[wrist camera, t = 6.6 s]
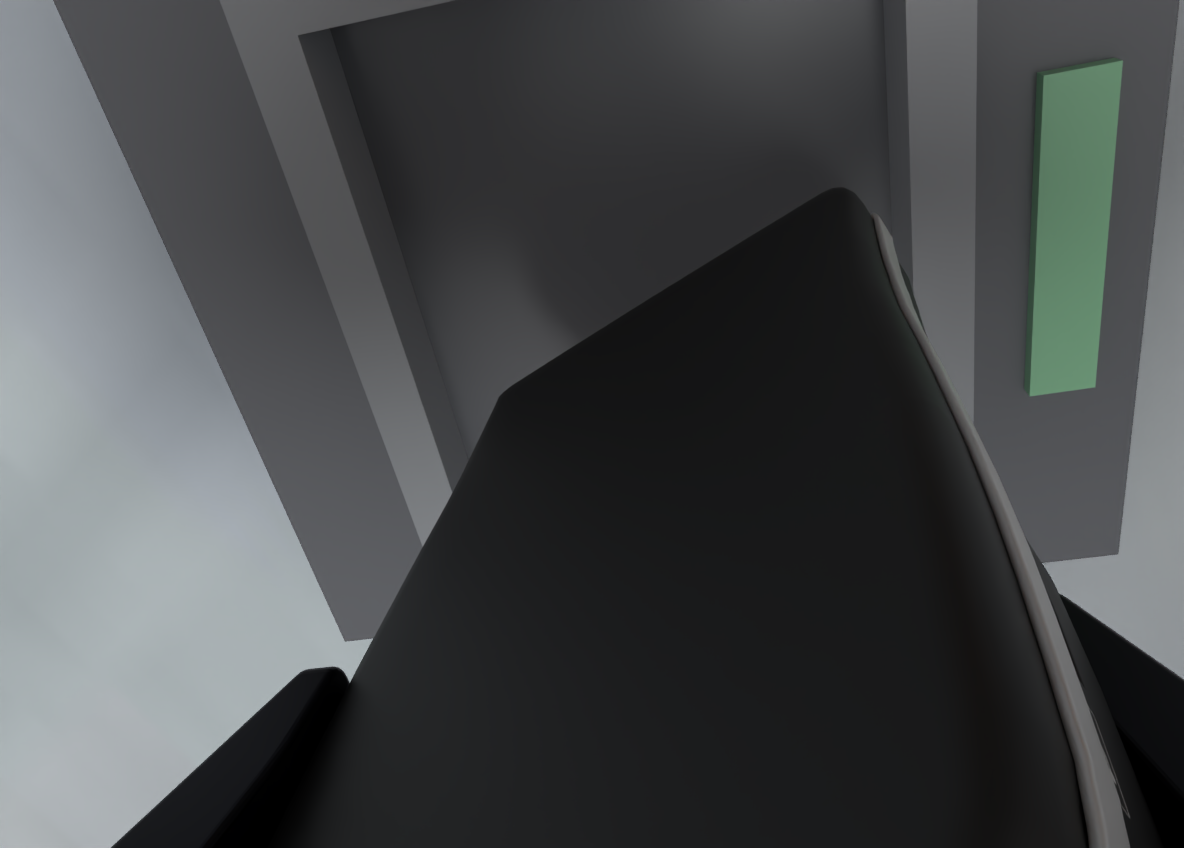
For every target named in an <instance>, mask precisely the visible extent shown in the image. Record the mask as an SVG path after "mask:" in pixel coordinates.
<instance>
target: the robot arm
mask: <svg viewBox="0 0 1184 848" xmlns="http://www.w3.org/2000/svg"><path fill="white" fill-rule="evenodd" d="M1059 595H1060V598H1061V600H1062V602H1063V604H1064V606H1065V609H1066V611H1067V613H1068V615H1069V618H1070V620H1071V622H1072V624H1073V627H1074V629H1075V631H1076V633H1077V636H1078V638H1079V640H1080V642H1081V645H1082V647H1083V649H1084V651H1085V654H1086V656H1087V658H1088V660H1089V663H1090V665H1091V667H1092V669H1093V672H1094V674H1095V676H1096V678H1097V681H1098V683H1099V685H1100V687H1101V690H1102V692H1103V695H1104V698H1105V700H1106V703H1107V705H1108V708H1109V710H1110V713H1111V715H1112V718H1113V720H1114V723H1115V725H1116V728H1117V730H1118V733H1119V735H1120V738H1121V740H1122V742H1123V745H1124V747H1125V750H1126V752H1127V755H1128V757H1129V759H1130V762H1131V764H1132V767H1133V769H1134V772H1135V774H1136V777H1137V779H1138V782H1139V784H1140V787H1141V789H1142V792H1143V794H1144V797H1145V799H1146V802H1147V804H1148V806H1149V809H1150V811H1151V814H1152V816H1153V819H1154V821H1155V824H1156V826H1157V829H1158V831H1159V834H1160V836H1161V839H1162V842H1163V844H1164V847H1165V848H1184V679H1182V678H1181V677H1179V676H1178V675H1177V674H1175V673H1174V672H1172V671H1171V670H1169V669H1168V668H1167V667H1165V666H1164V665H1162V664H1161V663H1159V662H1158V661H1156V660H1155V659H1154V658H1152V657H1151V656H1149V655H1148V654H1146V653H1145V652H1144V651H1142V650H1141V649H1139V648H1138V647H1136V646H1135V645H1134V644H1132V643H1131V642H1129V641H1128V640H1126V639H1125V638H1124V637H1122V636H1121V635H1119V634H1118V633H1116V632H1115V631H1113V630H1112V629H1111V628H1109V627H1108V626H1106V625H1105V624H1103V623H1102V622H1101V621H1099V620H1098V619H1096V618H1095V617H1093V616H1092V615H1091V614H1089V613H1088V612H1086V611H1085V610H1083V609H1082V608H1081V607H1079V606H1078V605H1076V604H1075V603H1073V602H1072V601H1071V600H1069V599H1068V598H1066V597H1065V596H1063V595H1061V594H1059ZM349 684H350V683H349V681H348V678H347V676H346V675H345V673H344V672H343V671H342V670H341V669H340V668H338V667H325V668H315V669H308V670H304V671H302V672H300V673H299V674H298V675H297V676H296V677H295V678H293V679H292V680H291V681H290V682H289V683H288V684H287V685H286V686H285V687H284V688H283V689H282V690H280V691H279V692H278V693H277V694H276V695H275V696H274V697H273V698H272V699H271V700H270V701H269V702H268V703H266V704H265V705H264V706H263V707H262V708H261V709H260V710H259V711H258V712H257V713H256V714H255V715H254V716H252V717H251V718H250V719H249V720H248V721H247V722H246V723H245V724H244V725H243V726H242V727H241V728H239V729H238V730H237V731H236V732H235V733H234V734H233V735H232V736H231V737H230V738H229V739H228V740H227V741H225V742H224V743H223V744H222V745H221V746H220V747H219V748H218V749H217V750H216V751H215V752H214V753H213V754H211V755H210V756H209V757H208V758H207V759H206V760H205V761H204V762H203V763H202V764H201V765H200V766H199V767H197V768H196V769H195V770H194V771H193V772H192V773H191V774H190V775H189V776H188V777H187V778H186V779H184V780H183V781H182V782H181V783H180V784H179V785H178V786H177V787H176V788H175V789H174V790H173V791H172V792H170V793H169V794H168V795H167V796H166V797H165V798H164V799H163V800H162V801H161V802H160V803H159V804H158V805H156V806H155V807H154V808H153V809H152V810H151V811H150V812H149V813H148V814H147V815H146V816H145V817H144V818H142V819H141V820H140V821H139V822H138V823H137V824H136V825H135V826H134V827H133V828H132V829H131V830H129V831H128V832H127V833H126V834H125V835H124V836H123V837H122V838H121V839H120V840H119V841H118V842H117V843H115V844H114V845H113V846H112V847H111V848H267V847H268V845H269V843H270V841H271V839H272V837H273V835H274V833H275V831H276V829H277V827H278V825H279V823H280V821H281V819H282V817H283V815H284V813H285V810H286V808H287V806H288V804H289V802H290V800H291V798H292V797H293V795H294V793H295V791H296V789H297V787H298V785H299V783H300V780H301V778H302V776H303V774H304V772H305V770H306V768H307V766H308V764H309V762H310V760H311V758H312V756H313V754H314V752H315V750H316V748H317V746H318V744H319V742H320V740H321V738H322V736H323V734H324V732H325V730H326V729H327V727H328V725H329V723H330V721H331V719H332V717H333V715H334V713H335V711H336V709H337V707H338V705H339V703H340V701H341V699H342V698H343V696H344V694H345V692H346V690H347V688H348V686H349Z"/></svg>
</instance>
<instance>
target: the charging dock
mask: <svg viewBox="0 0 1184 848" xmlns="http://www.w3.org/2000/svg"><path fill="white" fill-rule="evenodd" d="M53 1H54V3H55V5H56V7H57V10H58V12H59V14H60V16H61V18H62V21H63V23H64V25H65V27H66V29H67V32H68V34H69V36H70V38H71V40H72V43H73V45H74V47H75V49H76V51H77V54H78V56H79V58H80V60H81V62H82V65H83V67H84V69H85V71H86V73H87V76H88V78H89V80H90V82H91V84H92V87H93V89H94V91H95V93H96V95H97V98H98V100H99V102H100V104H101V106H102V109H103V111H104V113H105V115H106V117H107V120H108V122H109V124H110V126H111V128H112V131H113V133H114V135H115V137H116V139H117V142H118V144H119V146H120V148H121V150H122V153H123V155H124V157H125V159H126V161H127V163H128V166H129V168H130V170H131V172H132V174H133V177H134V179H135V181H136V183H137V185H138V188H139V190H140V192H141V194H142V196H143V199H144V201H145V203H146V205H147V207H148V210H149V212H150V214H151V216H152V218H153V221H154V223H155V225H156V227H157V229H158V232H159V234H160V236H161V238H162V240H163V243H164V245H165V247H166V249H167V251H168V254H169V256H170V258H171V260H172V262H173V265H174V267H175V269H176V271H177V273H178V276H179V278H180V280H181V282H182V284H183V287H184V289H185V291H186V293H187V295H188V298H189V300H190V302H191V304H192V306H193V309H194V311H195V313H196V315H197V317H198V320H199V322H200V324H201V326H202V328H203V331H204V333H205V335H206V337H207V339H208V341H209V344H210V346H211V348H212V350H213V352H214V355H215V357H216V359H217V361H218V363H219V366H220V368H221V370H222V372H223V374H224V377H225V379H226V381H227V383H228V385H229V388H230V390H231V392H232V394H233V396H234V399H235V401H236V403H237V405H238V407H239V410H240V412H241V414H242V416H243V418H244V421H245V423H246V425H247V427H248V429H249V432H250V434H251V436H252V438H253V440H254V443H255V445H256V447H257V449H258V451H259V454H260V456H261V458H262V460H263V462H264V465H265V467H266V469H267V471H268V473H269V476H270V478H271V480H272V482H273V484H274V487H275V489H276V491H277V493H278V495H279V498H280V500H281V502H282V504H283V506H284V509H285V511H286V513H287V515H288V517H289V520H290V522H291V524H292V526H293V528H294V530H295V533H296V535H297V537H298V539H299V541H300V544H301V546H302V548H303V550H304V552H305V555H306V557H307V559H308V561H309V563H310V566H311V568H312V570H313V572H314V574H315V577H316V579H317V581H318V583H319V585H320V588H321V590H322V592H323V594H324V596H325V599H326V601H327V603H328V605H329V607H330V610H331V612H332V614H333V616H334V618H335V621H336V623H337V625H338V627H339V629H340V632H341V634H342V636H343V638H344V640H345V641H354V640H363V639H372V638H374V636H375V635H376V633H377V631H378V629H379V627H380V625H381V623H382V621H383V620H384V618H385V616H386V614H387V612H388V610H389V608H390V607H391V605H392V603H393V601H394V599H395V597H396V595H397V594H398V592H399V590H400V588H401V586H402V584H403V582H404V580H405V579H406V577H407V575H408V573H409V571H410V569H411V568H412V566H413V564H414V562H415V560H416V558H417V556H418V555H419V553H420V551H421V549H422V547H423V545H424V544H425V542H426V540H427V538H428V536H429V535H430V533H431V531H432V529H433V527H434V526H435V524H436V522H437V520H438V518H439V517H440V515H441V513H442V511H443V509H444V508H445V506H446V504H447V502H448V500H449V498H450V496H451V494H452V492H453V490H454V489H455V487H456V485H457V483H458V481H459V479H460V477H461V475H462V473H463V471H464V469H465V467H466V465H467V463H468V461H469V459H470V456H471V454H472V452H473V450H474V448H475V446H476V444H477V442H478V440H479V438H480V436H481V434H482V432H483V430H484V428H485V425H486V423H487V421H488V419H489V417H490V415H491V413H492V411H493V409H494V407H495V405H496V402H497V400H498V398H499V396H500V395H501V394H502V393H503V392H504V391H505V390H507V389H508V388H509V387H510V386H512V385H513V384H515V383H516V382H518V381H520V380H521V379H523V378H524V377H526V376H527V375H529V374H531V373H532V372H534V371H535V370H537V369H538V368H540V367H542V366H543V365H545V364H546V363H548V362H549V361H551V360H553V359H554V358H556V357H557V356H559V355H560V354H562V353H564V352H565V351H567V350H568V349H570V348H571V347H573V346H575V345H576V344H578V343H579V342H581V341H583V340H584V339H586V338H587V337H589V336H591V335H592V334H594V333H595V332H597V331H599V330H600V329H602V328H603V327H605V326H607V325H608V324H610V323H611V322H613V321H614V320H616V319H618V318H619V317H621V316H622V315H624V314H626V313H627V312H629V311H630V310H632V309H634V308H635V307H637V306H638V305H640V304H642V303H643V302H645V301H646V300H648V299H649V298H651V297H653V296H654V295H656V294H658V293H659V292H661V291H662V290H664V289H666V288H667V287H669V286H670V285H672V284H674V283H675V282H677V281H679V280H680V279H682V278H683V277H685V276H687V275H688V274H690V273H692V272H693V271H695V270H696V269H698V268H700V267H701V266H703V265H705V264H706V263H708V262H709V261H711V260H713V259H714V258H716V257H717V256H719V255H721V254H722V253H724V252H726V251H727V250H729V249H730V248H732V247H734V246H735V245H737V244H739V243H740V242H742V241H743V240H745V239H747V238H748V237H750V236H752V235H753V234H755V233H756V232H758V231H760V230H761V229H763V228H765V227H766V226H768V225H770V224H771V223H773V222H775V221H776V220H778V219H779V218H781V217H783V216H784V215H786V214H788V213H789V212H791V211H793V210H794V209H796V208H797V207H799V206H801V205H802V204H804V203H806V202H807V201H809V200H811V199H812V198H814V197H816V196H817V195H819V194H820V193H822V192H825V191H827V190H829V189H831V188H836V187H844V188H846V189H849V190H851V191H853V192H854V193H855V194H856V195H857V196H858V197H859V199H860V200H861V201H862V202H863V203H864V205H865V207H866V208H867V210H868V212H869V213H876V214H877V215H878V216H879V217H880V218H881V220H882V221H883V223H884V225H885V226H886V228H887V230H888V231H889V233H890V235H891V236H892V238H893V244H894V248H895V251H896V255H897V259H898V261H899V263H900V264H901V266H902V268H903V269H904V271H905V273H906V274H907V276H908V278H909V280H910V283H911V287H912V291H913V295H914V298H915V301H916V303H917V306H918V309H919V312H920V317H921V320H922V323H923V326H924V329H925V332H926V335H927V337H928V340H929V341H930V343H931V345H932V347H933V349H934V350H935V352H936V354H937V356H938V357H939V359H940V361H941V363H942V364H943V366H944V368H945V370H946V372H947V374H948V376H949V378H950V380H951V382H952V384H953V386H954V387H955V389H956V391H957V393H958V395H959V397H960V399H961V401H962V403H963V405H964V407H965V409H966V411H967V413H968V415H969V417H970V419H971V421H972V423H973V425H974V427H975V429H976V431H977V433H978V435H979V437H980V439H981V441H982V443H983V445H984V447H985V449H986V451H987V453H988V455H989V457H990V459H991V461H992V463H993V466H994V468H995V470H996V471H997V474H998V476H999V478H1000V480H1001V483H1002V485H1003V487H1004V490H1005V492H1006V494H1007V497H1008V499H1009V501H1010V503H1011V506H1012V508H1013V510H1014V513H1015V515H1016V517H1017V520H1018V522H1019V524H1020V527H1021V529H1022V531H1023V533H1024V535H1025V537H1026V539H1027V540H1028V542H1029V543H1030V545H1031V547H1032V548H1033V550H1034V551H1035V553H1036V555H1037V556H1038V558H1039V559H1040V561H1041V562H1042V563H1045V562H1054V561H1063V560H1072V559H1081V558H1089V557H1098V556H1107V555H1116V554H1118V552H1119V542H1120V533H1121V524H1122V515H1123V506H1124V497H1125V488H1126V479H1127V470H1128V461H1129V452H1130V443H1131V434H1132V425H1133V416H1134V407H1135V397H1136V388H1137V379H1138V370H1139V361H1140V352H1141V343H1142V334H1143V325H1144V316H1145V307H1146V298H1147V289H1148V280H1149V271H1150V262H1151V253H1152V243H1153V234H1154V225H1155V216H1156V207H1157V198H1158V189H1159V180H1160V171H1161V162H1162V153H1163V144H1164V135H1165V126H1166V117H1167V108H1168V98H1169V89H1170V80H1171V71H1172V62H1173V53H1174V44H1175V35H1176V26H1177V17H1178V8H1179V0H53Z"/></svg>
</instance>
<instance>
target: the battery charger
mask: <svg viewBox="0 0 1184 848" xmlns="http://www.w3.org/2000/svg"><path fill="white" fill-rule="evenodd" d="M267 848H1165V847H1164V844H1163V842H1162V839H1161V836H1160V834H1159V831H1158V829H1157V826H1156V824H1155V821H1154V819H1153V816H1152V814H1151V811H1150V809H1149V806H1148V804H1147V802H1146V799H1145V797H1144V794H1143V792H1142V789H1141V787H1140V784H1139V782H1138V779H1137V777H1136V774H1135V772H1134V769H1133V767H1132V764H1131V762H1130V759H1129V757H1128V755H1127V752H1126V750H1125V747H1124V745H1123V742H1122V740H1121V738H1120V735H1119V733H1118V730H1117V728H1116V725H1115V723H1114V720H1113V718H1112V715H1111V713H1110V710H1109V708H1108V705H1107V703H1106V700H1105V698H1104V695H1103V692H1102V690H1101V687H1100V685H1099V683H1098V681H1097V678H1096V676H1095V674H1094V672H1093V669H1092V667H1091V665H1090V663H1089V660H1088V658H1087V656H1086V654H1085V651H1084V649H1083V647H1082V645H1081V642H1080V640H1079V638H1078V636H1077V633H1076V631H1075V629H1074V627H1073V624H1072V622H1071V620H1070V618H1069V615H1068V613H1067V611H1066V609H1065V606H1064V604H1063V602H1062V600H1061V598H1060V595H1059V593H1058V591H1057V589H1056V587H1055V585H1054V583H1053V581H1052V579H1051V577H1050V575H1049V574H1048V572H1047V570H1046V569H1045V567H1044V566H1043V564H1042V562H1041V561H1040V559H1039V558H1038V556H1037V555H1036V553H1035V551H1034V550H1033V548H1032V547H1031V545H1030V543H1029V542H1028V540H1027V539H1026V537H1025V535H1024V533H1023V531H1022V529H1021V527H1020V524H1019V522H1018V520H1017V517H1016V515H1015V513H1014V510H1013V508H1012V506H1011V503H1010V501H1009V499H1008V497H1007V494H1006V492H1005V490H1004V487H1003V485H1002V483H1001V480H1000V478H999V476H998V474H997V471H996V470H995V468H994V466H993V463H992V461H991V459H990V457H989V455H988V453H987V451H986V449H985V447H984V445H983V443H982V441H981V439H980V437H979V435H978V433H977V431H976V429H975V427H974V425H973V423H972V421H971V419H970V417H969V415H968V413H967V411H966V409H965V407H964V405H963V403H962V401H961V399H960V397H959V395H958V393H957V391H956V389H955V387H954V386H953V384H952V382H951V380H950V378H949V376H948V374H947V372H946V370H945V368H944V366H943V364H942V363H941V361H940V359H939V357H938V356H937V354H936V352H935V350H934V349H933V347H932V345H931V343H930V341H929V340H928V337H927V335H926V332H925V329H924V326H923V323H922V320H921V317H920V312H919V309H918V306H917V303H916V301H915V298H914V295H913V291H912V287H911V283H910V280H909V278H908V276H907V274H906V273H905V271H904V269H903V268H902V266H901V264H900V263H899V261H898V259H897V255H896V251H895V248H894V244H893V238H892V236H891V235H890V233H889V231H888V230H887V228H886V226H885V225H884V223H883V221H882V220H881V218H880V217H879V216H878V215H877V214H876V213H869V212H868V210H867V208H866V207H865V205H864V203H863V202H862V201H861V200H860V199H859V197H858V196H857V195H856V194H855V193H854V192H853V191H851V190H849V189H846V188H844V187H836V188H831V189H829V190H827V191H825V192H822V193H820V194H819V195H817V196H816V197H814V198H812V199H811V200H809V201H807V202H806V203H804V204H802V205H801V206H799V207H797V208H796V209H794V210H793V211H791V212H789V213H788V214H786V215H784V216H783V217H781V218H779V219H778V220H776V221H775V222H773V223H771V224H770V225H768V226H766V227H765V228H763V229H761V230H760V231H758V232H756V233H755V234H753V235H752V236H750V237H748V238H747V239H745V240H743V241H742V242H740V243H739V244H737V245H735V246H734V247H732V248H730V249H729V250H727V251H726V252H724V253H722V254H721V255H719V256H717V257H716V258H714V259H713V260H711V261H709V262H708V263H706V264H705V265H703V266H701V267H700V268H698V269H696V270H695V271H693V272H692V273H690V274H688V275H687V276H685V277H683V278H682V279H680V280H679V281H677V282H675V283H674V284H672V285H670V286H669V287H667V288H666V289H664V290H662V291H661V292H659V293H658V294H656V295H654V296H653V297H651V298H649V299H648V300H646V301H645V302H643V303H642V304H640V305H638V306H637V307H635V308H634V309H632V310H630V311H629V312H627V313H626V314H624V315H622V316H621V317H619V318H618V319H616V320H614V321H613V322H611V323H610V324H608V325H607V326H605V327H603V328H602V329H600V330H599V331H597V332H595V333H594V334H592V335H591V336H589V337H587V338H586V339H584V340H583V341H581V342H579V343H578V344H576V345H575V346H573V347H571V348H570V349H568V350H567V351H565V352H564V353H562V354H560V355H559V356H557V357H556V358H554V359H553V360H551V361H549V362H548V363H546V364H545V365H543V366H542V367H540V368H538V369H537V370H535V371H534V372H532V373H531V374H529V375H527V376H526V377H524V378H523V379H521V380H520V381H518V382H516V383H515V384H513V385H512V386H510V387H509V388H508V389H507V390H505V391H504V392H503V393H502V394H501V395H500V396H499V398H498V400H497V402H496V405H495V407H494V409H493V411H492V413H491V415H490V417H489V419H488V421H487V423H486V425H485V428H484V430H483V432H482V434H481V436H480V438H479V440H478V442H477V444H476V446H475V448H474V450H473V452H472V454H471V456H470V459H469V461H468V463H467V465H466V467H465V469H464V471H463V473H462V475H461V477H460V479H459V481H458V483H457V485H456V487H455V489H454V490H453V492H452V494H451V496H450V498H449V500H448V502H447V504H446V506H445V508H444V509H443V511H442V513H441V515H440V517H439V518H438V520H437V522H436V524H435V526H434V527H433V529H432V531H431V533H430V535H429V536H428V538H427V540H426V542H425V544H424V545H423V547H422V549H421V551H420V553H419V555H418V556H417V558H416V560H415V562H414V564H413V566H412V568H411V569H410V571H409V573H408V575H407V577H406V579H405V580H404V582H403V584H402V586H401V588H400V590H399V592H398V594H397V595H396V597H395V599H394V601H393V603H392V605H391V607H390V608H389V610H388V612H387V614H386V616H385V618H384V620H383V621H382V623H381V625H380V627H379V629H378V631H377V633H376V635H375V636H374V638H373V640H372V642H371V644H370V646H369V648H368V650H367V651H366V653H365V655H364V657H363V659H362V661H361V663H360V665H359V666H358V668H357V670H356V672H355V674H354V676H353V678H352V680H351V682H350V684H349V686H348V688H347V690H346V692H345V694H344V696H343V698H342V699H341V701H340V703H339V705H338V707H337V709H336V711H335V713H334V715H333V717H332V719H331V721H330V723H329V725H328V727H327V729H326V730H325V732H324V734H323V736H322V738H321V740H320V742H319V744H318V746H317V748H316V750H315V752H314V754H313V756H312V758H311V760H310V762H309V764H308V766H307V768H306V770H305V772H304V774H303V776H302V778H301V780H300V783H299V785H298V787H297V789H296V791H295V793H294V795H293V797H292V798H291V800H290V802H289V804H288V806H287V808H286V810H285V813H284V815H283V817H282V819H281V821H280V823H279V825H278V827H277V829H276V831H275V833H274V835H273V837H272V839H271V841H270V843H269V845H268V847H267Z"/></svg>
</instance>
